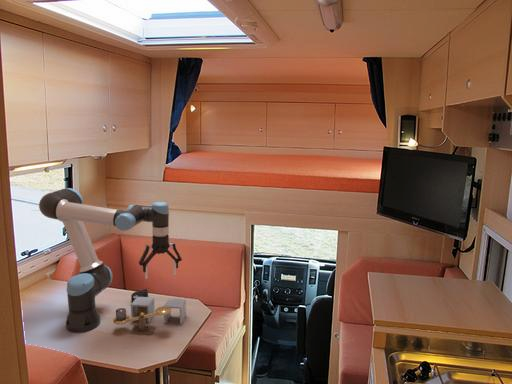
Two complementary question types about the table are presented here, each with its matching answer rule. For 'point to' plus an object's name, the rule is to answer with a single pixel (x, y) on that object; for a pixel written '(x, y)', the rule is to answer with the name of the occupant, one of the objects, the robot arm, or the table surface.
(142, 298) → the cover
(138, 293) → the rock
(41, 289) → the table surface
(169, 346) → the table surface
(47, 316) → the table surface
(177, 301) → the cover
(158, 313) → the balance
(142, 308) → the block
